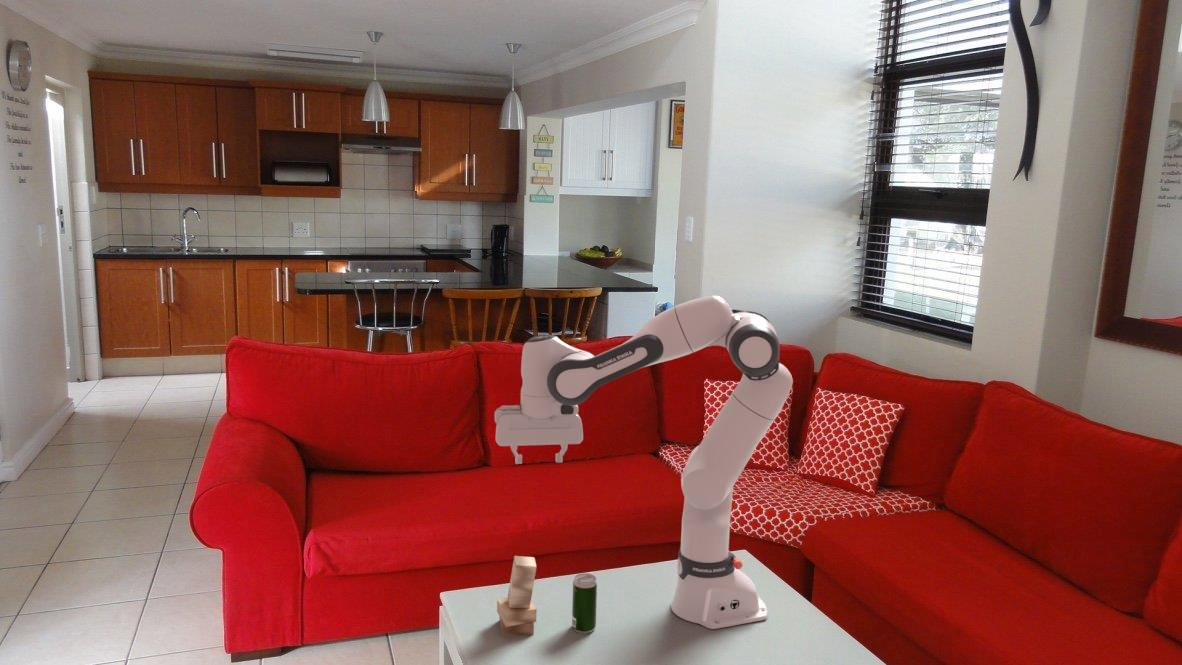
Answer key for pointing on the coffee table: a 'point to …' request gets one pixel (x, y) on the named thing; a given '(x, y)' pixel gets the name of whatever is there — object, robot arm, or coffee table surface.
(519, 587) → the tan block
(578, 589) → the beer can
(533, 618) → the oak block
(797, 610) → the coffee table surface
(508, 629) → the light brown flat block
